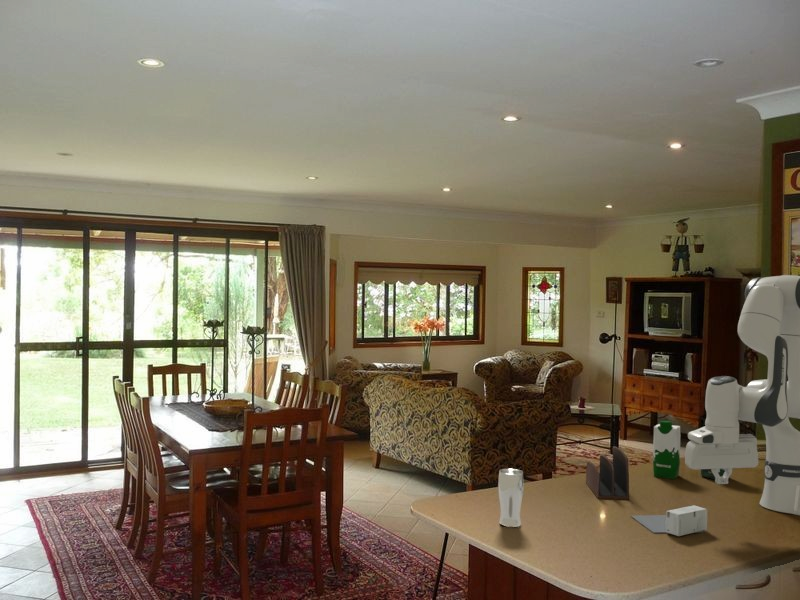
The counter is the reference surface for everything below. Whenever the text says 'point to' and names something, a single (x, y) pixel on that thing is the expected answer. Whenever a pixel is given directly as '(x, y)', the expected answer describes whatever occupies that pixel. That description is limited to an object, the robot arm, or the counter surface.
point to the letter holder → (609, 477)
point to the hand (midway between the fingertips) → (721, 483)
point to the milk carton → (666, 450)
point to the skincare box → (686, 520)
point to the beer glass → (510, 496)
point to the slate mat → (654, 522)
